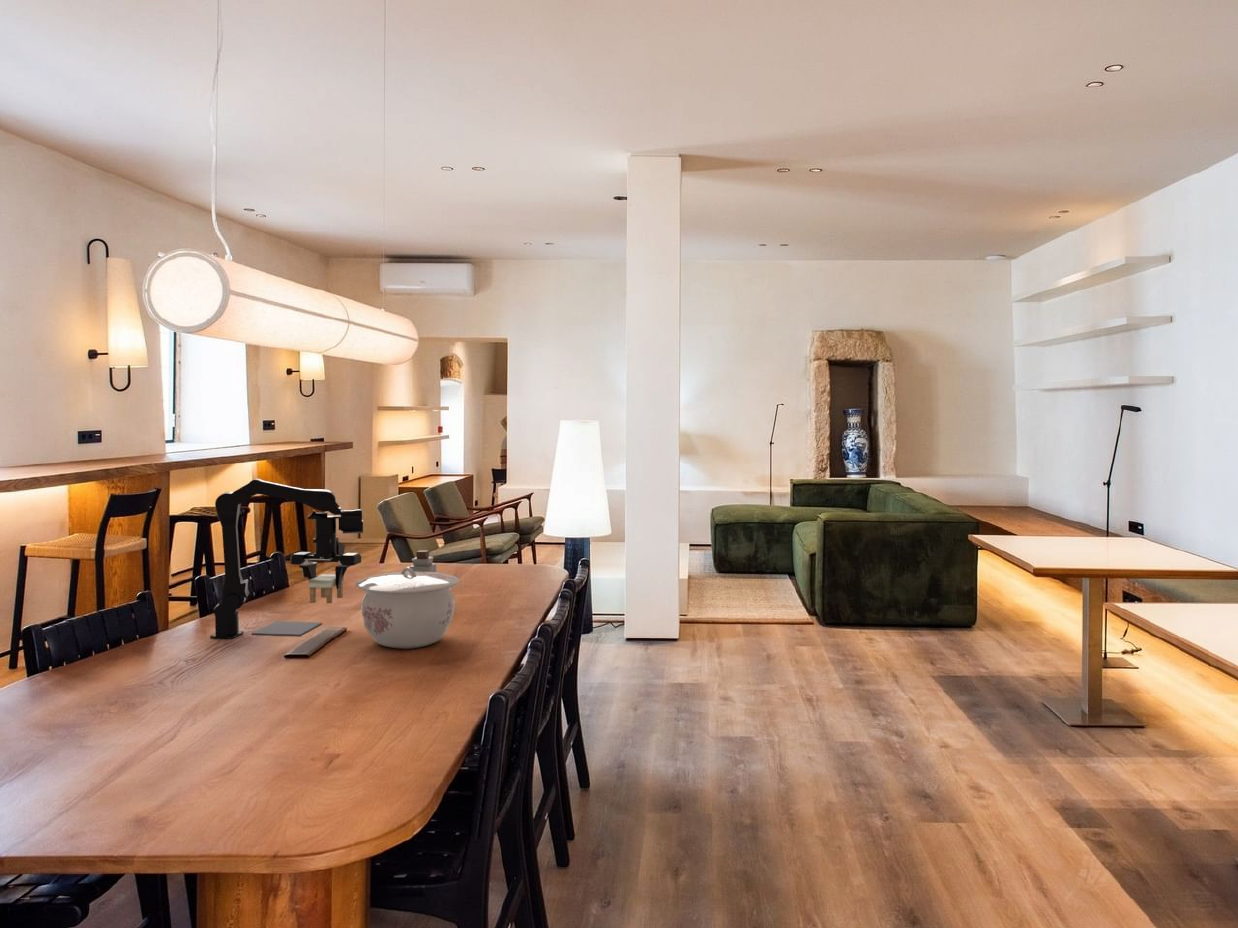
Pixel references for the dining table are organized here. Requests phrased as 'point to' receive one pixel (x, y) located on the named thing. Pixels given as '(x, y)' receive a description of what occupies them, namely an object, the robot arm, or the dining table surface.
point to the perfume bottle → (423, 562)
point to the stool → (324, 587)
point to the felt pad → (287, 628)
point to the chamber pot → (407, 607)
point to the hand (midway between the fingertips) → (326, 588)
